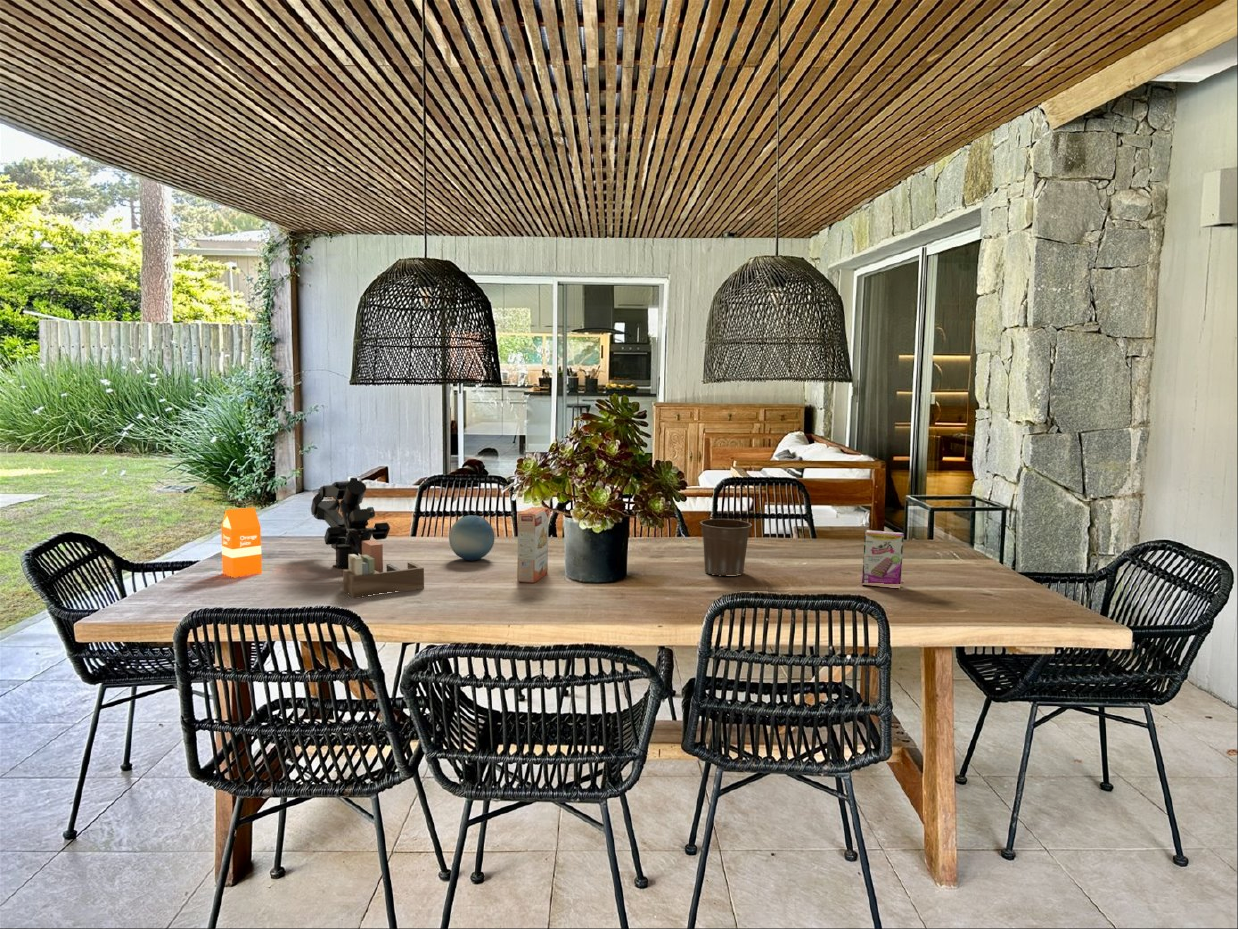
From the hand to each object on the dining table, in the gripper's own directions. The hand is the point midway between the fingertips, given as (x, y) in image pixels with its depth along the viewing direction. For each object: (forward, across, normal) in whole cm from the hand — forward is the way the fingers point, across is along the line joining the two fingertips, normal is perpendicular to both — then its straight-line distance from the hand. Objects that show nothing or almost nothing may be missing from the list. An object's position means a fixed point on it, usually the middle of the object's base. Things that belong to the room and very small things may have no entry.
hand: (364, 555), depth 246 cm
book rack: (+17, 0, -7) cm, 18 cm away
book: (+10, 0, -1) cm, 10 cm away
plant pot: (+43, +98, -33) cm, 111 cm away
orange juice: (-13, -30, +22) cm, 39 cm away
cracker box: (+24, +43, -14) cm, 51 cm away
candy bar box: (+69, +126, -59) cm, 156 cm away
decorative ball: (+1, +38, +9) cm, 39 cm away
